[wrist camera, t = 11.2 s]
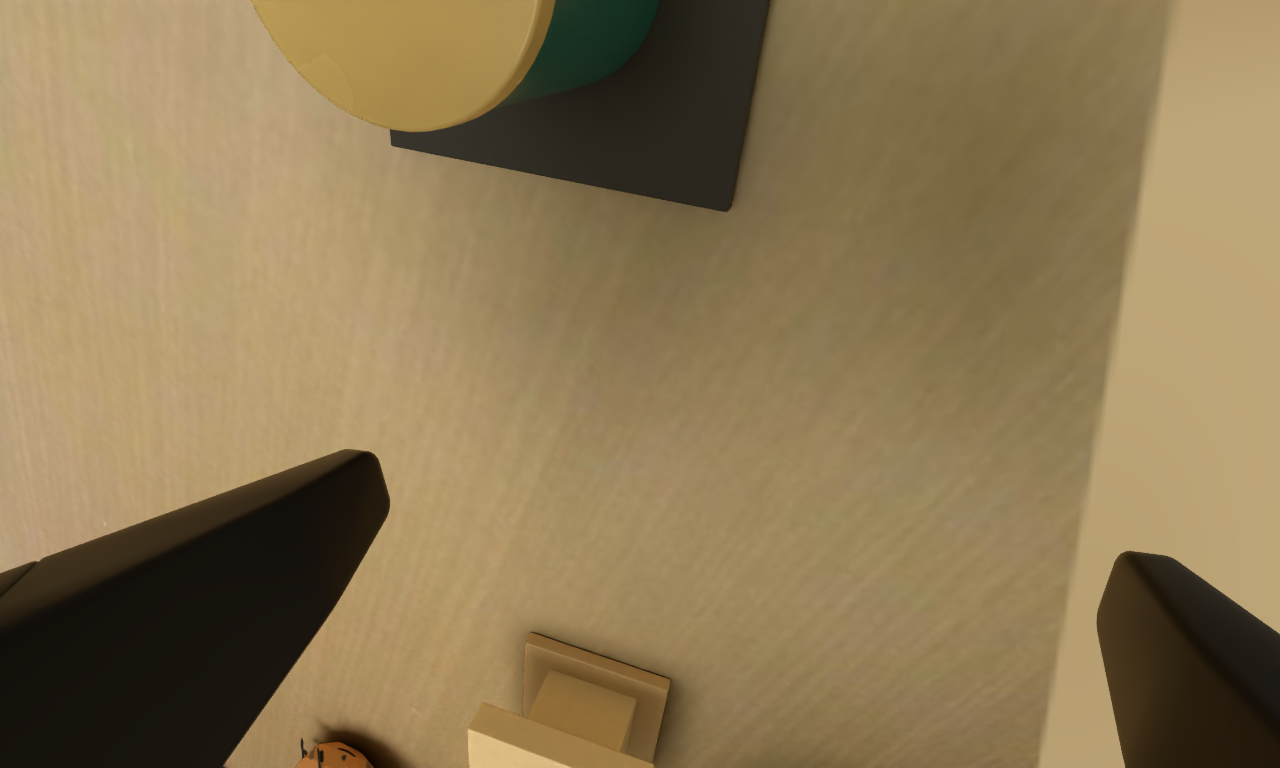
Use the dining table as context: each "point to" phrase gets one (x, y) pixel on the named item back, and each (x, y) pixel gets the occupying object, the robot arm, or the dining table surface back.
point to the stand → (572, 714)
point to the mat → (636, 113)
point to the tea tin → (451, 52)
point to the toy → (332, 757)
